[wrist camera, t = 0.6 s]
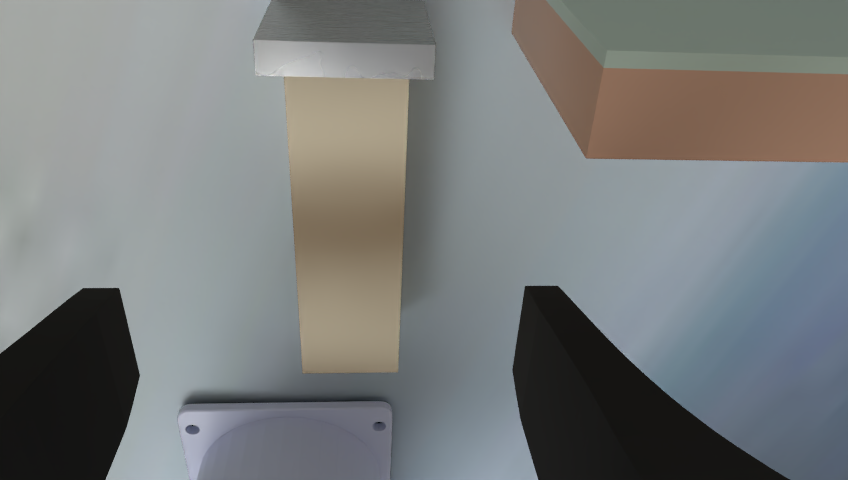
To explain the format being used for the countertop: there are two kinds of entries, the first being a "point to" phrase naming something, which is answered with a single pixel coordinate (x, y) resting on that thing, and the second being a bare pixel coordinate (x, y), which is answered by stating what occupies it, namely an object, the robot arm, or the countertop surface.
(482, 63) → the countertop surface
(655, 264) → the countertop surface
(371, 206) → the capped square post
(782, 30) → the tile
